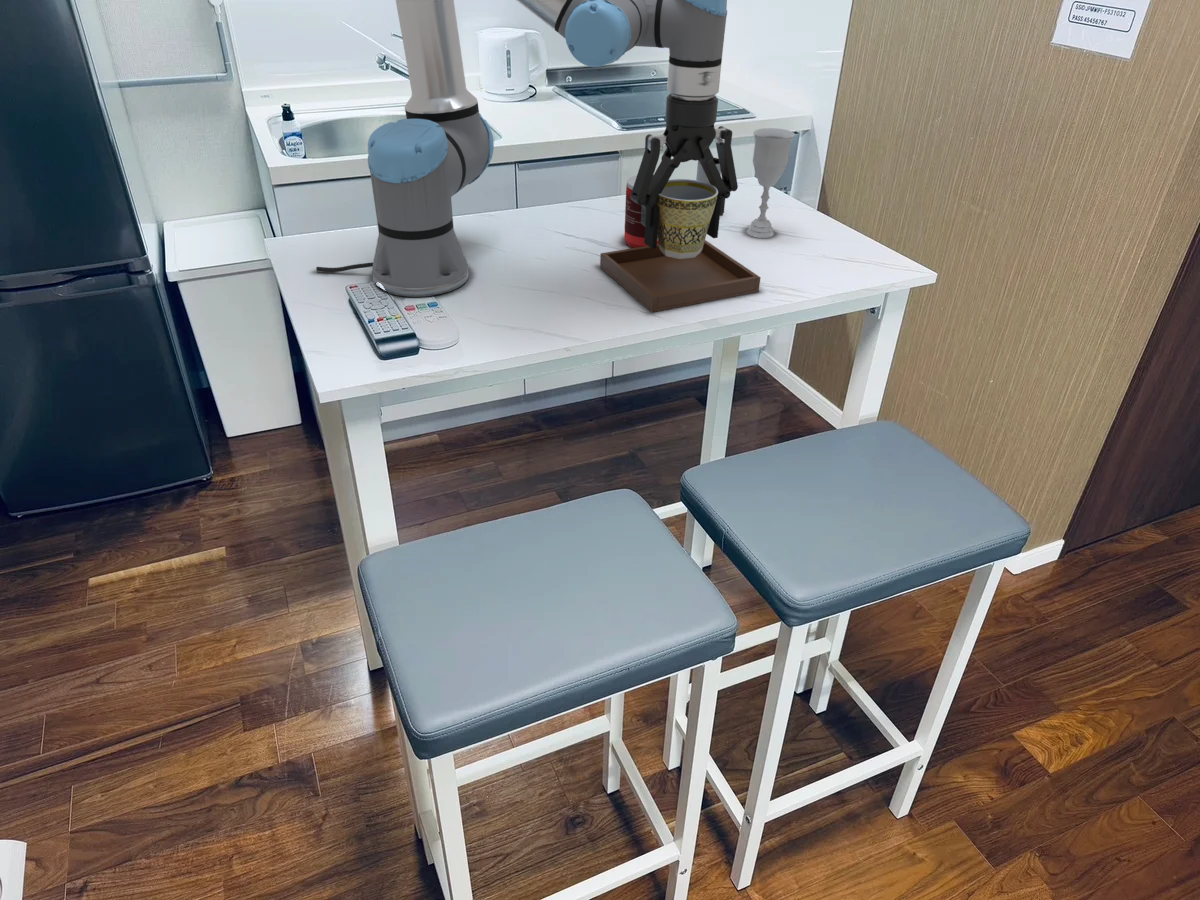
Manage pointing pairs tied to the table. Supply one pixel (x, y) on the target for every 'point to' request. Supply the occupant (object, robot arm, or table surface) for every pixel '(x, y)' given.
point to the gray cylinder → (701, 174)
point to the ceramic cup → (684, 217)
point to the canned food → (633, 219)
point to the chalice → (768, 171)
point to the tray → (678, 276)
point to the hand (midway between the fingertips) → (681, 240)
